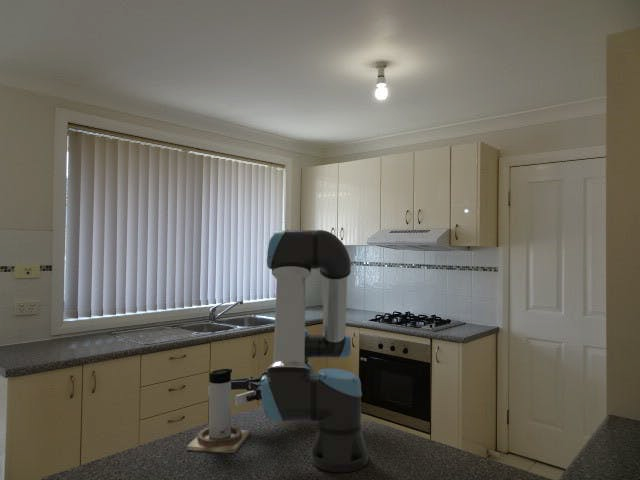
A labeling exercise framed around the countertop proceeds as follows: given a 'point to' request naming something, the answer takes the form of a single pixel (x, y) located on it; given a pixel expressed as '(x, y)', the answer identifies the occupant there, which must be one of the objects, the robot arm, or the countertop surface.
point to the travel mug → (220, 404)
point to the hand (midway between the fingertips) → (222, 395)
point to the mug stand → (219, 441)
